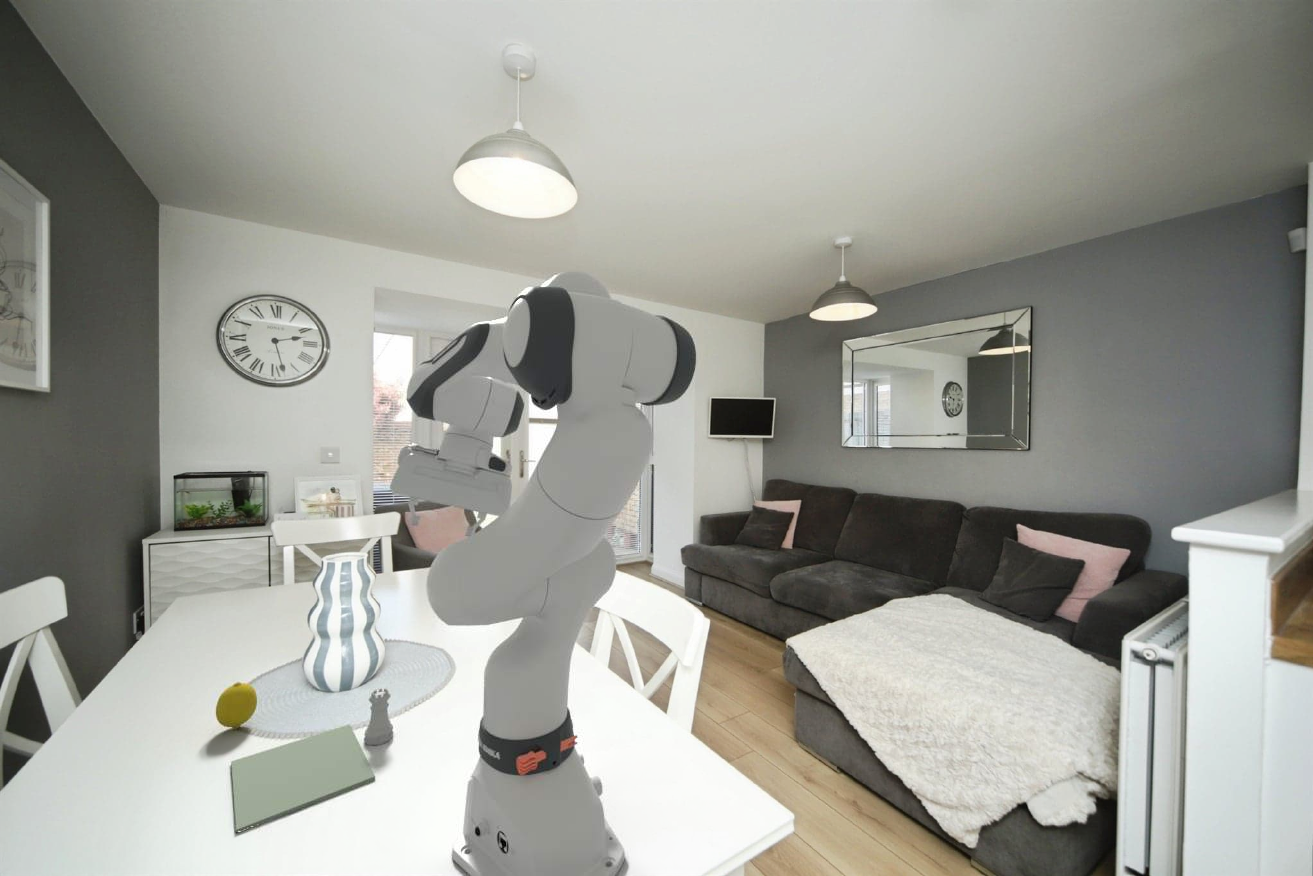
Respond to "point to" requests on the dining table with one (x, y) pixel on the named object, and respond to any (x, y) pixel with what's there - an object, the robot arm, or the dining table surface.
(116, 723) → the dining table surface
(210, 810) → the dining table surface
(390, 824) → the dining table surface
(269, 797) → the grayish green thin book
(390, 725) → the rook chess piece
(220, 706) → the lemon
